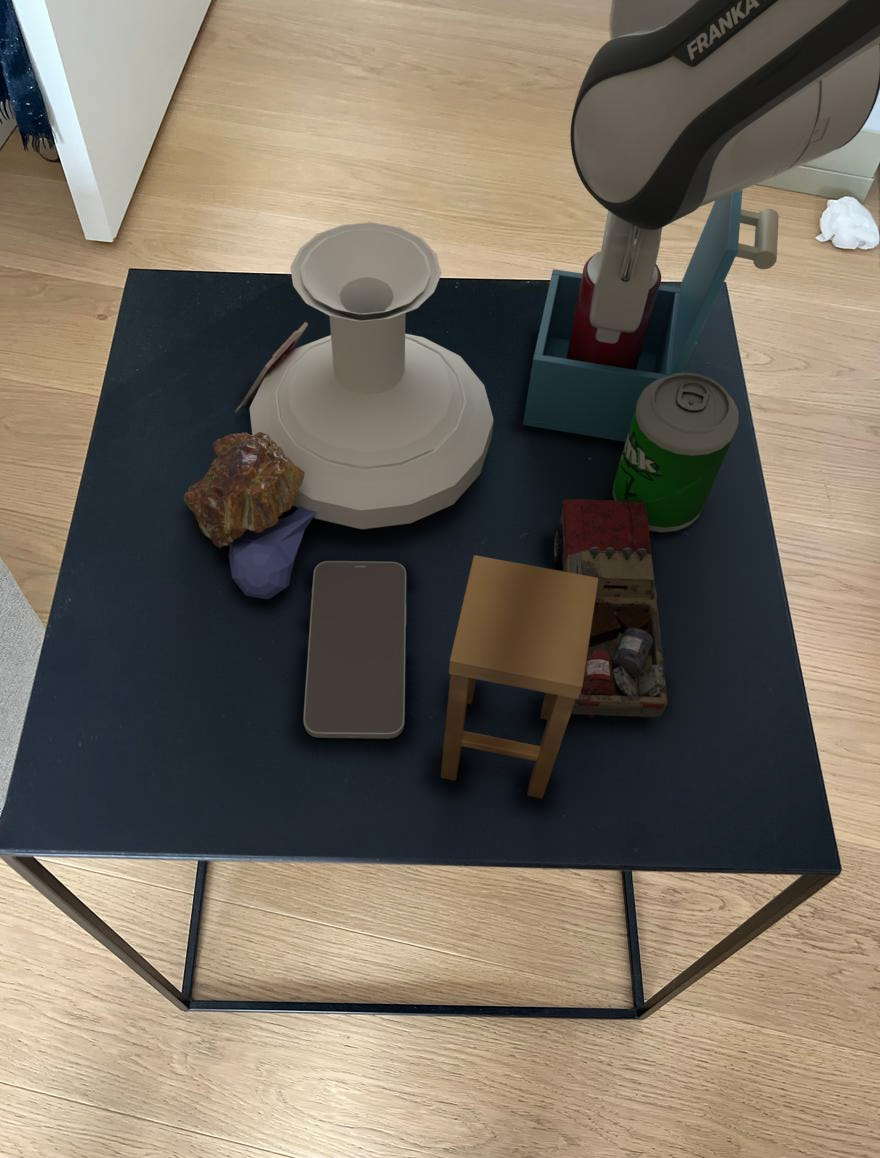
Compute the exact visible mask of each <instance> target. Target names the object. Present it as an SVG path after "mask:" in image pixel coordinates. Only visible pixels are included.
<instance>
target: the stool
mask: <svg viewBox="0 0 880 1158" xmlns="http://www.w3.org/2000/svg"><path fill="white" fill-rule="evenodd" d="M472 558H473V559H472V561H471V567H470V571H469V574H468V579H467V584H466V587H465V593H464V597H463V601H462V604H461V605H462V606H461V610H460V613H459V619H458V623H457V628H456V633H455V635H454V636H455V637H454V641H453V645H452V649H451V653H450V658H449V663H448V664H449V666H448V674H449V685H448V697H447V706H446V707H447V708H446V718H445V727H444V739H443V748H442V761H441V771H440V778H441V779H446V780H450V781H457V777H458V772H459V766H460V759H461V751H462V747H465V748H469V749H475V750H480V751H485V752H490V753H494V754H499V755H504V756H508V757H509V756H510V757H514V758H518V759H519V758H520V759H523V760H529V761H533V762H534V766H533V769H532V771H531V775H530V779H529V782H528V788H527V794H526V795H527V796H528V797H532V798H536V799H537V798H538V799H543V798H544V796H545V792H546V790H547V789H546V788H547V787H548V784H549V780H550V778H551V774H552V772H553V769H554V765H555V763H556V759H557V758H558V757H557V756H558V754H559V751H560V748H561V745H562V741H563V739H564V736H565V733H566V730H567V727H568V724H569V721H570V718H571V715H572V714H571V712H572V709H573V707H574V704H575V701H576V699H578V698H579V695H580V693H581V690H582V687H583V680H584V673H585V666H586V660H587V653H588V646H589V639H590V632H591V626H592V619H593V612H594V605H595V598H596V592H597V585H598V578H596V577H590V576H585V575H579V574H574V573H568V572H563V570H557V569H552V568H545V567H540V566H536V565H529V564H525V563H519V562H515V561H507V560H502V559H498V558H497V559H496V558H491V557H485V556H480V555H473V557H472ZM477 680H480V681H486V682H489V683H495V684H500V685H505V686H509V687H510V686H511V687H515V688H520V689H525V690H530V691H536V692H540V693H545V694H544V697H543V702H542V705H541V711H540V716H539V719H541V720H545V721H547V722H546V723H545V728H544V731H543V734H542V738H541V741H540V744H539V745H535V744H529V743H525V742H519V741H516V740H512V739H511V740H510V739H505V738H501V737H495V736H491V735H485V734H481V733H477V732H476V733H475V732H471V731H466V730H465V722H466V715H467V707H468V705H472V704H473V700H474V696H475V691H476V683H477Z"/></svg>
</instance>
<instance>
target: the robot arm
mask: <svg viewBox="0 0 880 1158" xmlns="http://www.w3.org/2000/svg"><path fill="white" fill-rule="evenodd" d="M608 21H609V22H608V31H609V40H607V41H606V43H604V44H603V45H602V46H601V47H600V48H599V49H598V51H597V52H596V54H595V56H594V57H593V59H592V61H591V63H590V64H589V67H588V69H587V71H586V73H585V75H584V78H583V80H582V82H581V85H580V87H579V90H578V93H577V96H576V99H575V103H574V108H573V111H572V117H571V121H570V133H569V134H570V135H569V137H570V149H571V156H572V160H573V164H574V167H575V170H576V173H577V175H578V177H579V179H580V182H581V183H582V185H583V186H584V188H585V189H586V190H587V192H588V193H589V194H590V195H591V197H592V198H593V199H594V200H595V201H596V202H597V203H598V204H599V205H601V207H603V208H605V210H607V215H606V221H605V226H604V232H603V237H602V242H601V248H600V251H601V253H600V259H599V265H598V270H597V276H596V282H595V287H594V293H593V299H592V304H591V310H590V323H591V325H592V326H593V327H596V328H597V332H596V339H597V340H598V341H600V342H606V343H616V342H617V341H618V340H619V336H620V333H621V332H626V333H631V332H634V331H635V330H636V329H637V328H638V326H639V324H640V322H641V319H642V315H643V312H644V308H645V304H646V300H647V296H648V293H649V289H650V285H651V281H652V277H653V273H654V269H655V265H657V261H658V257H659V252H660V246H661V242H662V241H661V240H662V233H663V228H664V227H666V226H668V225H670V224H672V223H674V222H676V221H678V220H679V219H682V218H684V217H686V216H687V215H689V214H692V213H694V212H695V211H697V210H698V209H699V208H700V207H703V206H705V205H708V204H710V203H713V202H715V201H716V200H718V199H721V198H723V197H726V196H728V195H730V194H733V193H735V192H738V191H740V190H742V191H743V190H745V189H748V188H750V187H753V186H756V185H757V184H760V183H763V182H765V181H768V180H770V179H772V178H775V177H777V176H779V175H781V174H784V173H787V172H788V171H791V170H794V169H796V168H799V167H801V166H804V165H806V164H809V163H811V162H813V161H815V160H817V159H820V158H822V157H824V156H826V155H828V154H830V153H831V152H834V151H836V150H839V149H841V148H843V147H845V146H846V145H848V144H849V143H850V142H851V141H853V140H854V138H856V137H857V136H858V134H859V133H860V132H861V131H862V129H863V127H865V124H866V123H867V121H868V120H869V118H870V116H871V115H872V112H873V110H874V108H875V105H876V103H877V100H878V96H879V94H880V0H612V1H611V7H610V12H609V18H608Z"/></svg>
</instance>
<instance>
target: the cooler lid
mask: <svg viewBox="0 0 880 1158" xmlns="http://www.w3.org/2000/svg"><path fill="white" fill-rule="evenodd" d="M742 201H743V190H740V191H738V192H735V193H733V194H730V195H728V196H726V197H723V198H721V199H718V200H716V201H713V202H714V203H713V205H712V208H711V209H710V212H709V215H708V217H707V218H706V219H707V220H706V222H705V224H704V227H703V229H702V232H701V234H700V236H699V239H698V241H697V244H696V246H695V248H694V251H693V253H692V255H691V258H690V259H689V263H688V265H687V268H686V269H685V272H684V274H683V278H682V280H681V282H680V288H681V289H680V298H679V306H678V315H677V323H676V332H675V340H674V349H673V357H672V366H671V374H670V375H673V374H677V373H684V370H685V368H686V366H687V363H688V362H689V359H690V356H691V355H692V353H693V350H694V348H695V346H696V344H697V342H698V340H699V337H700V335H701V333H702V332H703V331H702V330H703V329H704V326H705V325H706V322H707V320H708V318H709V316H710V314H711V311H712V310H713V307H714V305H715V302H716V301H717V299H718V296H719V294H720V292H721V289H722V288H723V285H724V283H725V281H726V279H727V278H728V277H727V276H728V274H729V273H730V270H731V268H732V266H733V263H734V262H735V259H736V258H740V259H745V260H749V261H752V262H753V265H754V267H756V268H757V269H759V270H768V269H771V268H772V267H774V266H775V265H776V263H777V259H778V240H779V239H778V237H779V235H778V234H779V213H778V212H777V210H775V209H773V208H764V209H762V210H760V211H759V212H756V211H751V210H748V209H747V210H746V209H743V208H742ZM741 224H743V225H748V226H753V227H755V228H754V245H749V244H744V243H741V242H739V241H740V229H741V228H740V227H741Z"/></svg>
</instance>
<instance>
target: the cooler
mask: <svg viewBox="0 0 880 1158" xmlns="http://www.w3.org/2000/svg"><path fill="white" fill-rule="evenodd" d="M582 273H583V272H582ZM582 273H581V272H576V271H569V270H563V269H562V270H561V269H557V268H556V269H554V268H553V269H552V270H551V276H550V279H549V280H550V281H549V284H548V290H547V294H546V299H545V303H544V308H543V313H542V317H541V322H540V327H539V331H538V335H537V340H536V344H535V350H534V354H533V358H532V365H531V371H530V378H529V384H528V390H527V396H526V403H525V409H524V415H523V423H522V425H523V426H527V427H533V428H534V427H535V428H540V429H545V430H552V431H557V432H563V433H570V434H575V435H581V436H587V437H594V438H599V439H606V440H610V441H611V440H612V441H617V442H623V443H626V439H627V436H628V433H629V429H630V426H631V422H632V419H633V415H634V412H635V408H636V405H637V402H638V399H639V397H640V396H641V394H642V392H643V390H644V389H645V388H646V387H647V386H649V385H650V384H651V383H652V382H654V381H656V380H658V379H661V378H664V377H666V376H670V374H671V366H672V357H673V349H674V340H675V332H676V323H677V315H678V306H679V298H680V289H681V287H676V286H671V285H662V284H660V287H659V290H658V294H657V298H656V301H655V305H654V308H653V312H652V316H651V319H650V323H649V326H648V330H647V334H646V337H645V341H644V344H643V348H642V351H641V355H640V359H639V362H638V366H637V369H636V370H632V369H626V368H620V367H614V366H607V365H601V364H595V363H588V362H582V361H576V360H569V359H566V356H567V351H568V345H569V340H570V335H571V330H572V325H573V320H574V314H575V309H576V304H577V299H578V294H579V289H580V283H581V278H582Z"/></svg>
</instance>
